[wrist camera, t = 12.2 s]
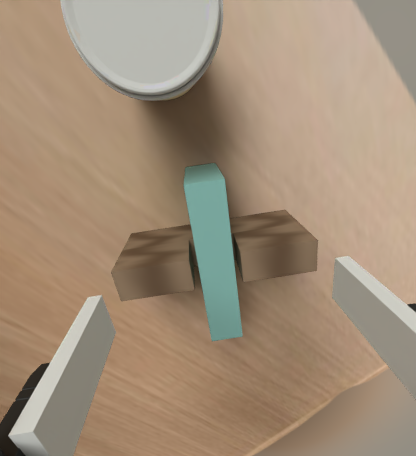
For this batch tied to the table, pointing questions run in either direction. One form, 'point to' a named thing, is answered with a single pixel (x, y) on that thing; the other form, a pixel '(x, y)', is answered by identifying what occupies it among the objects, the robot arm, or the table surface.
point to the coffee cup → (146, 42)
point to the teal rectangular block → (213, 248)
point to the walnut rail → (186, 256)
